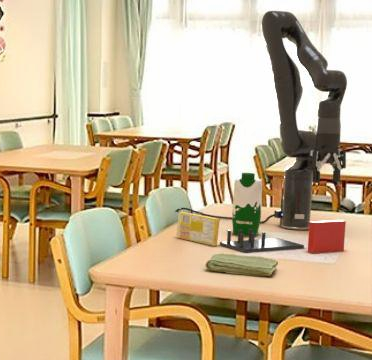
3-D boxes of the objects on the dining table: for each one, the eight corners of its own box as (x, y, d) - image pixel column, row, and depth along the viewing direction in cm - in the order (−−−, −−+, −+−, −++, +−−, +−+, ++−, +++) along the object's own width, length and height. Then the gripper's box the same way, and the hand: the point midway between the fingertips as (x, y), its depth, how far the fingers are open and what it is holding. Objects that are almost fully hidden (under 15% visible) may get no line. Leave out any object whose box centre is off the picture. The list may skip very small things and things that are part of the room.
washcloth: (273, 278, 235) (274, 265, 234) (204, 271, 240) (204, 259, 240) (278, 268, 247) (279, 256, 246) (211, 262, 253) (212, 250, 252)
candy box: (218, 246, 277) (220, 218, 276) (213, 246, 276) (215, 218, 275) (180, 237, 290) (182, 211, 289) (175, 237, 289) (177, 211, 288)
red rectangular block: (307, 252, 271) (309, 221, 270) (338, 249, 277) (340, 219, 276) (312, 253, 269) (314, 222, 268) (343, 250, 275) (345, 221, 274)
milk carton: (230, 235, 296) (233, 173, 293) (233, 231, 304) (236, 170, 302) (258, 237, 293) (261, 175, 291) (261, 233, 301) (264, 172, 299)
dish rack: (219, 245, 278) (220, 228, 278) (277, 241, 288) (278, 225, 287) (244, 252, 267) (245, 235, 267) (303, 248, 277) (304, 231, 277)
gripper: (335, 132, 305) (333, 181, 306) (303, 131, 299) (301, 181, 300) (353, 132, 299) (351, 182, 300) (320, 132, 292) (318, 183, 293)
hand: (326, 182), depth 300 cm, fingers open, 8 cm apart
